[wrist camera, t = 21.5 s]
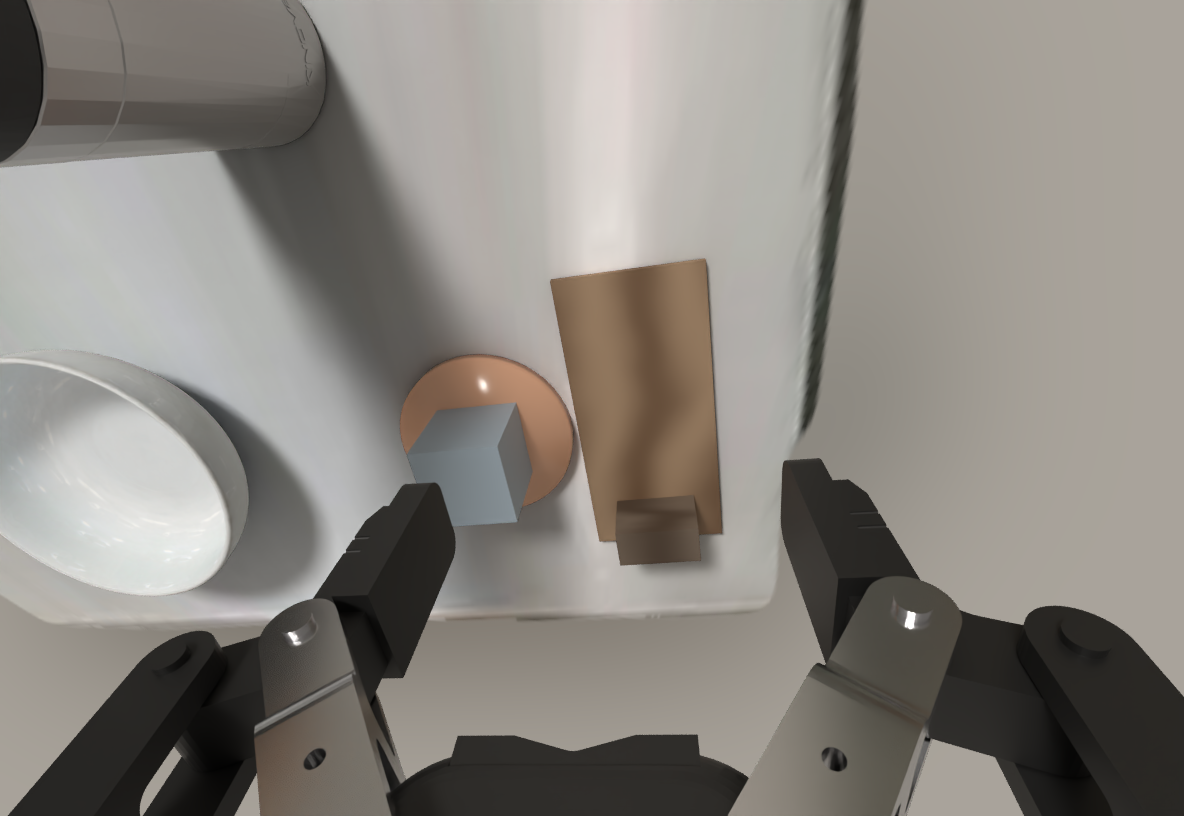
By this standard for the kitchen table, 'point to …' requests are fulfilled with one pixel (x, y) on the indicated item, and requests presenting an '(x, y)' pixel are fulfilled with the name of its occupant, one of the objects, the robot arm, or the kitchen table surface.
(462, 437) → the slate cube
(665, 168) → the kitchen table surface
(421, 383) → the terracotta saucer
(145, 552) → the serving bowl
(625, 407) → the walnut strip
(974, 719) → the robot arm
